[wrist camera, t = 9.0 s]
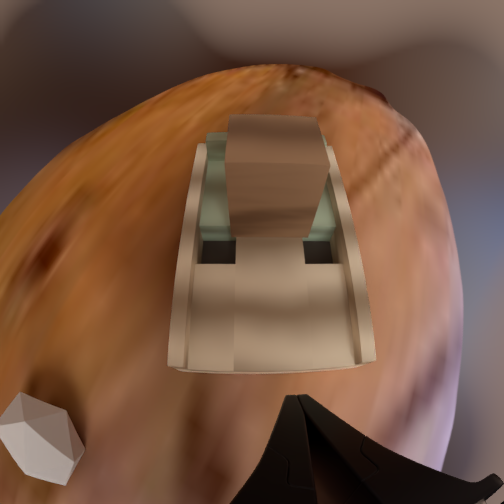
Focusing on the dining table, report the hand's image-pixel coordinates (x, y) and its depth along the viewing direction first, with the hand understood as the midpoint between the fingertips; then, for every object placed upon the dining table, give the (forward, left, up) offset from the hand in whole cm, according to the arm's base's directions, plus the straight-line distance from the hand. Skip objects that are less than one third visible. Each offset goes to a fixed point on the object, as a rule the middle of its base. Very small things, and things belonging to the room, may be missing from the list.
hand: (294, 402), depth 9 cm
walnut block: (+14, -9, -10) cm, 20 cm away
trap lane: (+11, -7, -13) cm, 19 cm away
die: (+5, +21, -14) cm, 25 cm away
